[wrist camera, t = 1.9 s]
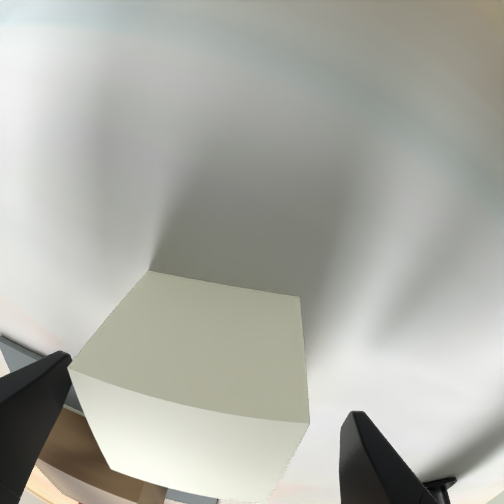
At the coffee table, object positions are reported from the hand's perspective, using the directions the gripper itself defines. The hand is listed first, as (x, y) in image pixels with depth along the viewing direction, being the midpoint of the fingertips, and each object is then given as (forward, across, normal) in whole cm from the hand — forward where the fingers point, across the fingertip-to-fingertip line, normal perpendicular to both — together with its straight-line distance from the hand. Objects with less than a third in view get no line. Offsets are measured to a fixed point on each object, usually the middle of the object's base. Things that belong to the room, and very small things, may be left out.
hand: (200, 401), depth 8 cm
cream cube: (+3, 0, 0) cm, 3 cm away
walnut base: (+2, +6, +11) cm, 13 cm away
